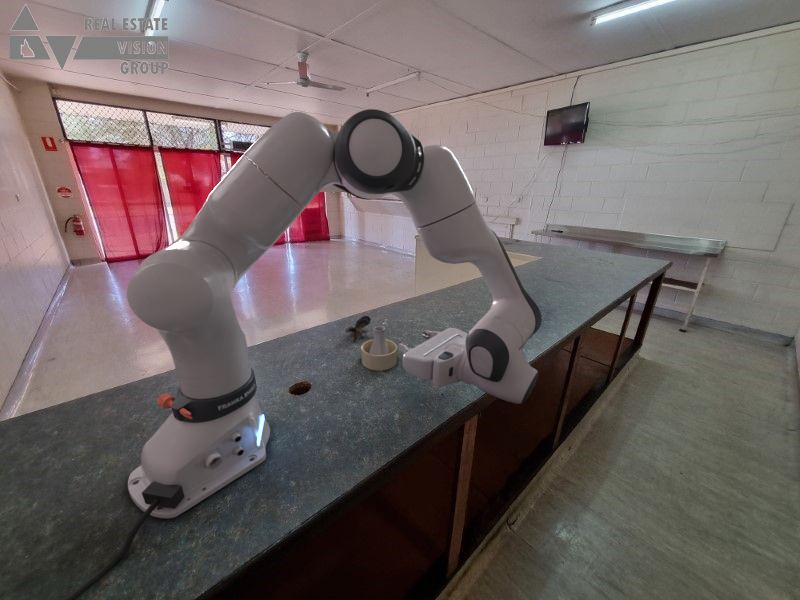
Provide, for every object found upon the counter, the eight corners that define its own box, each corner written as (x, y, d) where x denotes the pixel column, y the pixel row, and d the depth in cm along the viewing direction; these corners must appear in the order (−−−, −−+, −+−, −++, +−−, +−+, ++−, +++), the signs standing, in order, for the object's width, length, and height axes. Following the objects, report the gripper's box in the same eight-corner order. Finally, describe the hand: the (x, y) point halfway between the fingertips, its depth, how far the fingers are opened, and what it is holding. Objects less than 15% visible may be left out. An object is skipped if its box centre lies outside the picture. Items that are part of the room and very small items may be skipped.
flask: (396, 358, 91) (397, 326, 88) (382, 369, 85) (382, 336, 82) (376, 350, 95) (376, 320, 91) (361, 361, 89) (360, 329, 85)
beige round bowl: (384, 374, 84) (384, 359, 82) (354, 363, 88) (354, 349, 87) (403, 357, 92) (403, 344, 90) (374, 348, 97) (374, 335, 95)
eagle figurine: (371, 340, 99) (376, 323, 107) (358, 323, 96) (363, 308, 104) (352, 349, 102) (358, 332, 110) (339, 333, 99) (345, 317, 107)
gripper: (484, 331, 77) (437, 315, 85) (435, 364, 62) (385, 342, 71) (481, 354, 79) (435, 336, 88) (433, 391, 65) (385, 366, 73)
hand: (412, 339), depth 79 cm, fingers open, 8 cm apart
